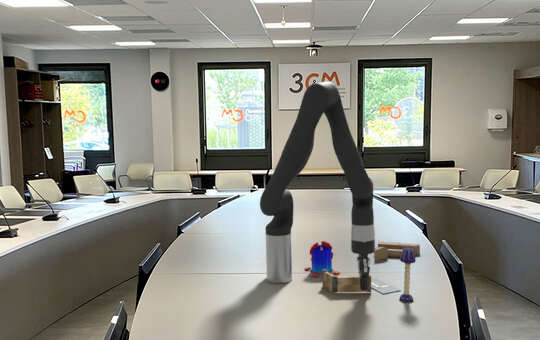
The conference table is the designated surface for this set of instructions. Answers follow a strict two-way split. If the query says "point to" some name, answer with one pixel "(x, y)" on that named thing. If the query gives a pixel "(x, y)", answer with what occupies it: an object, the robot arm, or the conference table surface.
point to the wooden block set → (393, 250)
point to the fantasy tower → (321, 259)
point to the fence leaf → (349, 284)
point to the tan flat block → (327, 280)
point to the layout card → (382, 286)
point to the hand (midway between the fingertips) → (363, 289)
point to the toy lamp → (407, 272)
